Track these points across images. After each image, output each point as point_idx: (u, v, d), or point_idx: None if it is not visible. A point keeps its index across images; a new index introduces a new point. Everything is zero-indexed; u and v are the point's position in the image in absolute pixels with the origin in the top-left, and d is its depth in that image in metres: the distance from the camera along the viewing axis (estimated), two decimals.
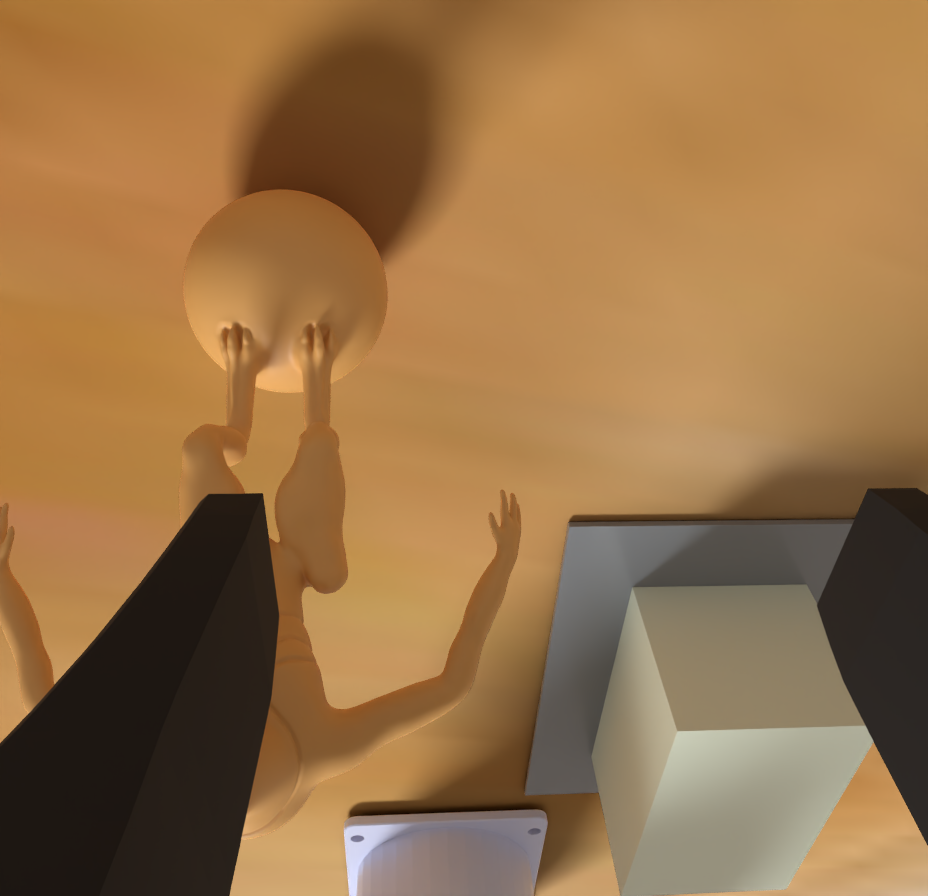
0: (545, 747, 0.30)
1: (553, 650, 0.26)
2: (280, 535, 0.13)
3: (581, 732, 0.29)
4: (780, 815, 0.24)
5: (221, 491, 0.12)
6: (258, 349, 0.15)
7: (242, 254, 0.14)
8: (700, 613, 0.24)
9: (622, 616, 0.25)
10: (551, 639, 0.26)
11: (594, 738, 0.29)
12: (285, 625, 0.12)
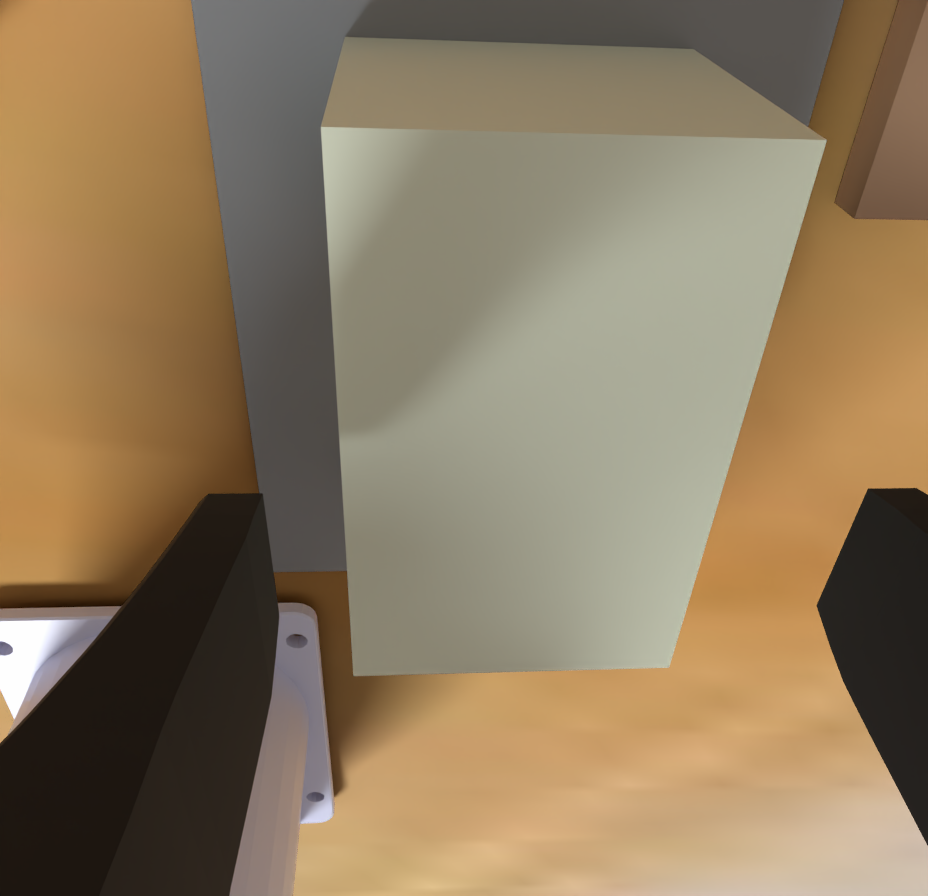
0: (277, 465, 0.17)
1: (230, 217, 0.14)
2: None
3: (332, 432, 0.17)
4: (626, 455, 0.11)
5: None
6: None
7: None
8: (466, 55, 0.12)
9: None
10: (218, 186, 0.14)
11: None
12: None
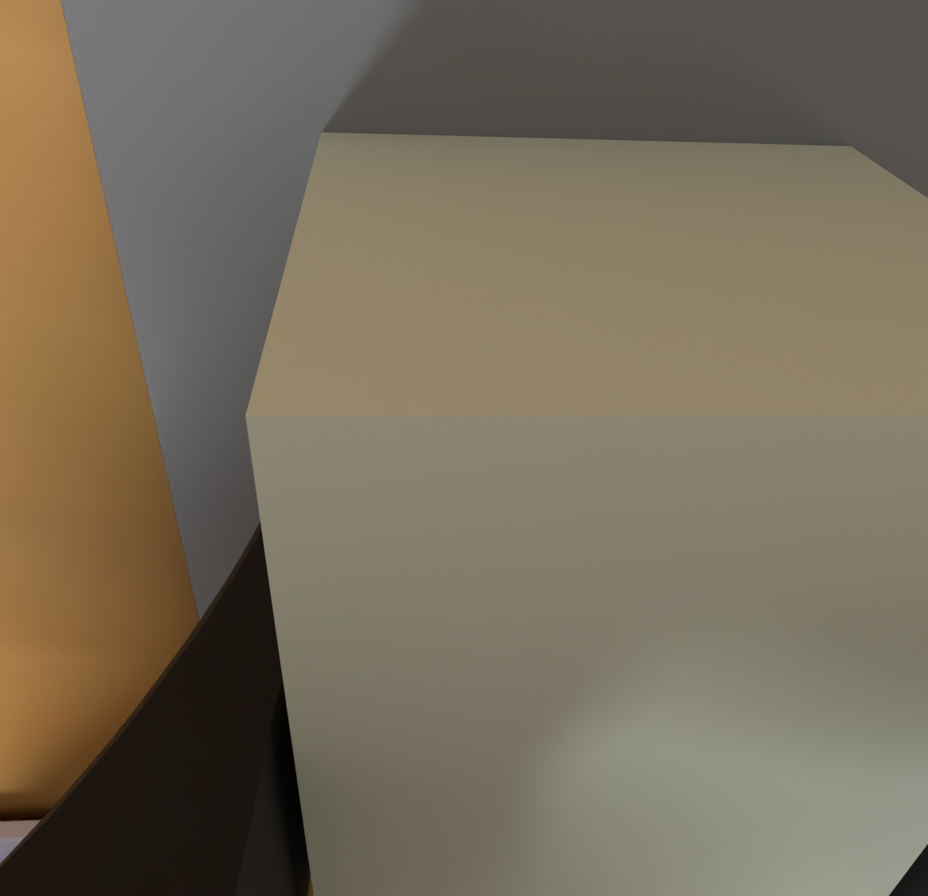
0: None
1: (158, 379, 0.10)
2: None
3: None
4: (774, 830, 0.07)
5: None
6: None
7: None
8: (512, 172, 0.07)
9: None
10: (138, 338, 0.09)
11: None
12: None
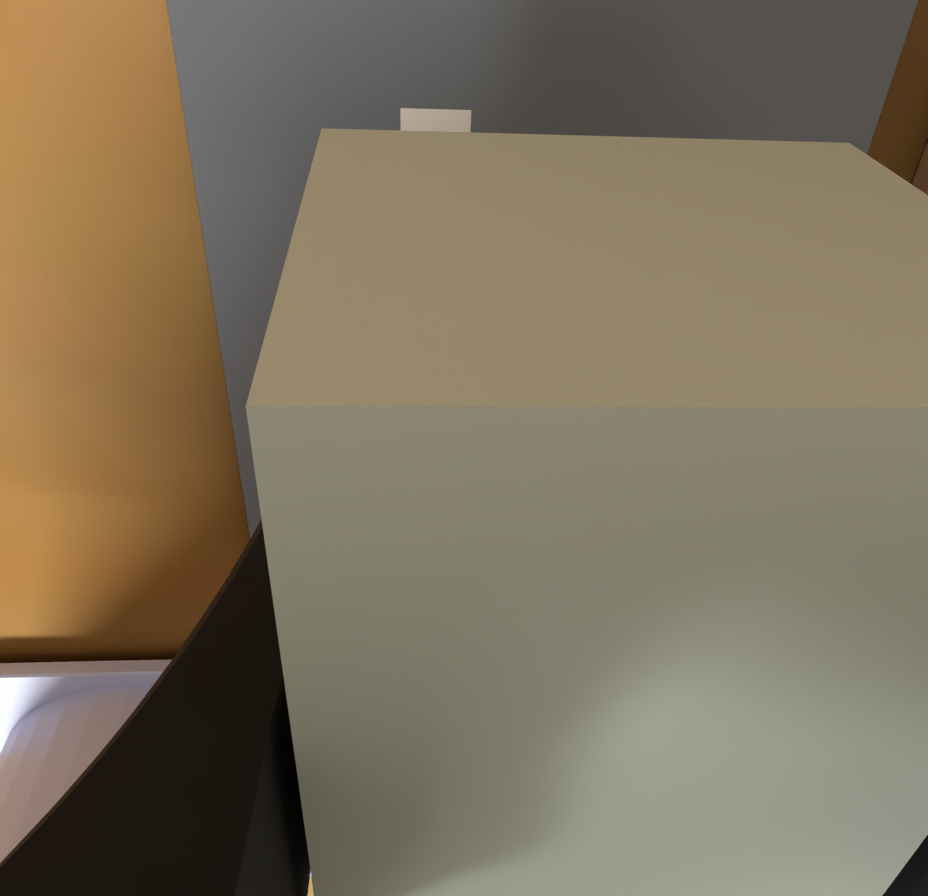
0: None
1: (215, 252, 0.12)
2: None
3: None
4: (771, 824, 0.07)
5: None
6: None
7: None
8: (512, 168, 0.07)
9: None
10: (201, 218, 0.12)
11: None
12: None
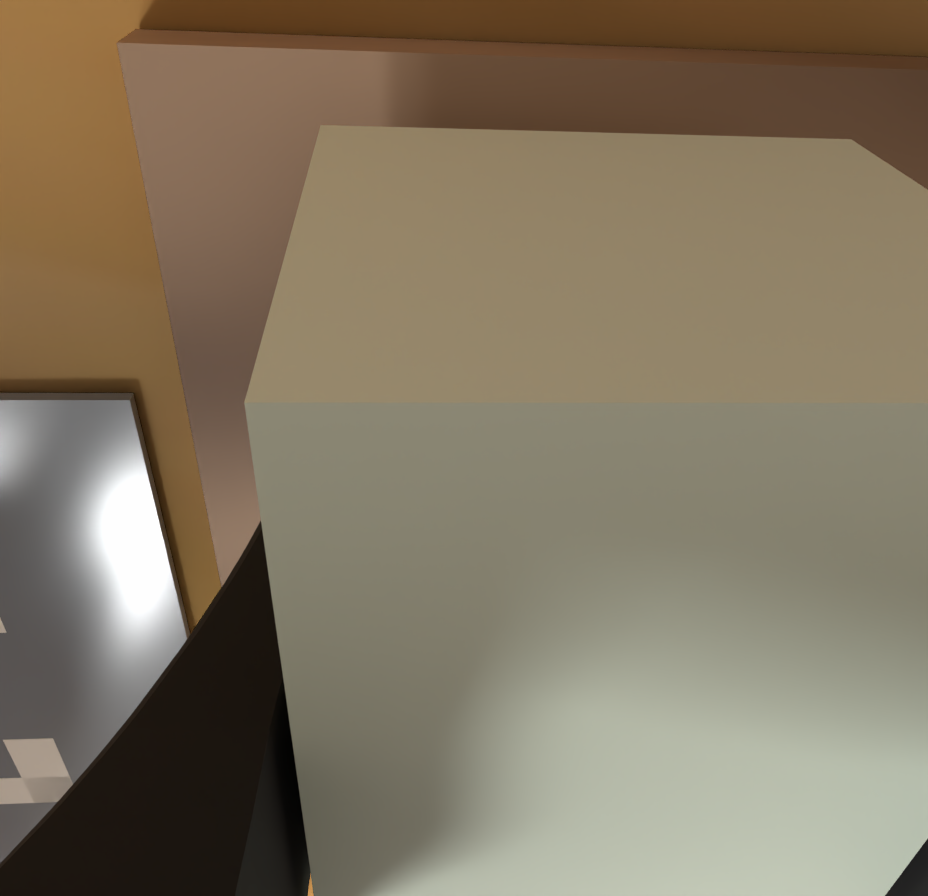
0: None
1: None
2: None
3: None
4: (774, 822, 0.07)
5: None
6: None
7: None
8: (511, 165, 0.07)
9: None
10: None
11: None
12: None
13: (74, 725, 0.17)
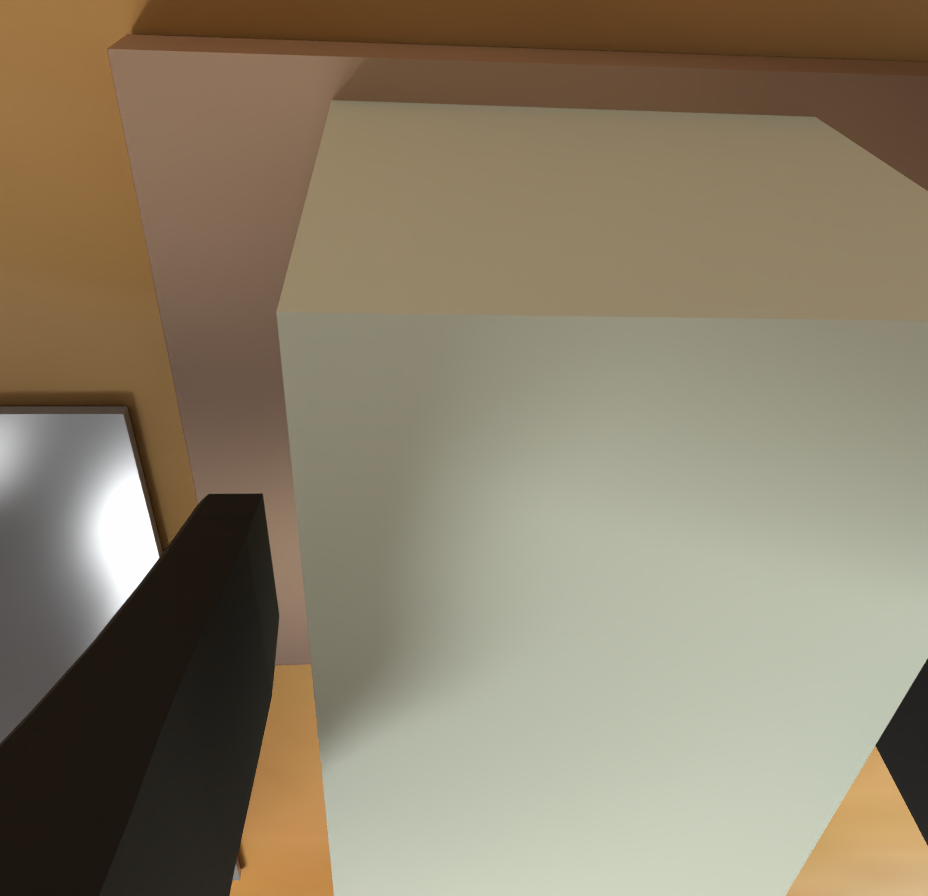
0: None
1: None
2: None
3: None
4: (737, 724, 0.08)
5: None
6: None
7: None
8: (504, 134, 0.08)
9: None
10: None
11: None
12: None
13: None
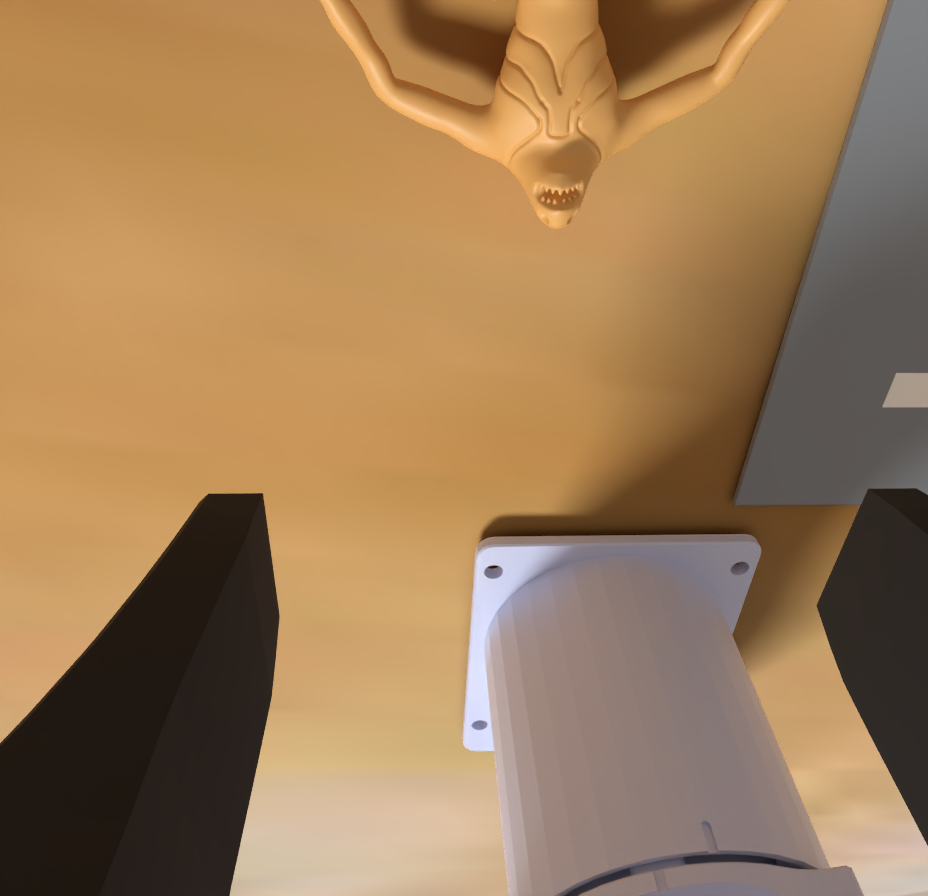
0: (783, 408, 0.20)
1: (841, 190, 0.17)
2: None
3: (841, 378, 0.20)
4: None
5: None
6: None
7: None
8: None
9: None
10: (843, 164, 0.17)
11: (857, 392, 0.20)
12: (593, 52, 0.13)
13: None
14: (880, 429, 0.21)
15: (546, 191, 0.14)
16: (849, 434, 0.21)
